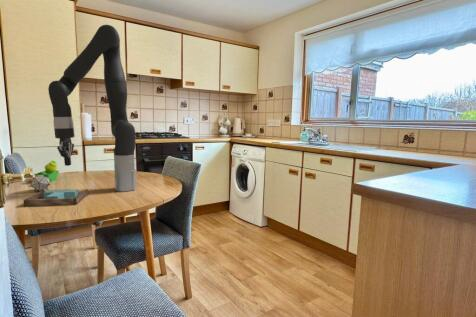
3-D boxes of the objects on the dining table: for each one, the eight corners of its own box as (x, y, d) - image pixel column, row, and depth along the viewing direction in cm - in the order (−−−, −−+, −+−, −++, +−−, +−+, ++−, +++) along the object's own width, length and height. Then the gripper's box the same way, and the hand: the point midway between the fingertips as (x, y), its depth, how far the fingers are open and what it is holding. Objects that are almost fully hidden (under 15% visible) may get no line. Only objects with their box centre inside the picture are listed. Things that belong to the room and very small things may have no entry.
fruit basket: (45, 179, 159) (44, 159, 158) (62, 179, 160) (61, 159, 159) (33, 184, 148) (31, 162, 146) (51, 184, 149) (50, 162, 147)
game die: (37, 199, 133) (21, 185, 127) (40, 189, 140) (24, 175, 134) (56, 189, 135) (40, 175, 128) (57, 180, 141) (42, 165, 135)
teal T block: (78, 196, 127) (77, 189, 127) (68, 203, 117) (68, 195, 116) (48, 197, 125) (47, 190, 125) (35, 204, 114) (35, 196, 114)
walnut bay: (88, 194, 130) (88, 189, 129) (76, 204, 115) (76, 198, 115) (42, 196, 126) (41, 190, 126) (23, 206, 111) (23, 200, 111)
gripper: (67, 127, 122) (71, 167, 125) (78, 126, 135) (82, 162, 138) (47, 128, 121) (52, 168, 123) (60, 126, 133) (65, 163, 136)
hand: (68, 165), depth 130 cm, fingers closed
